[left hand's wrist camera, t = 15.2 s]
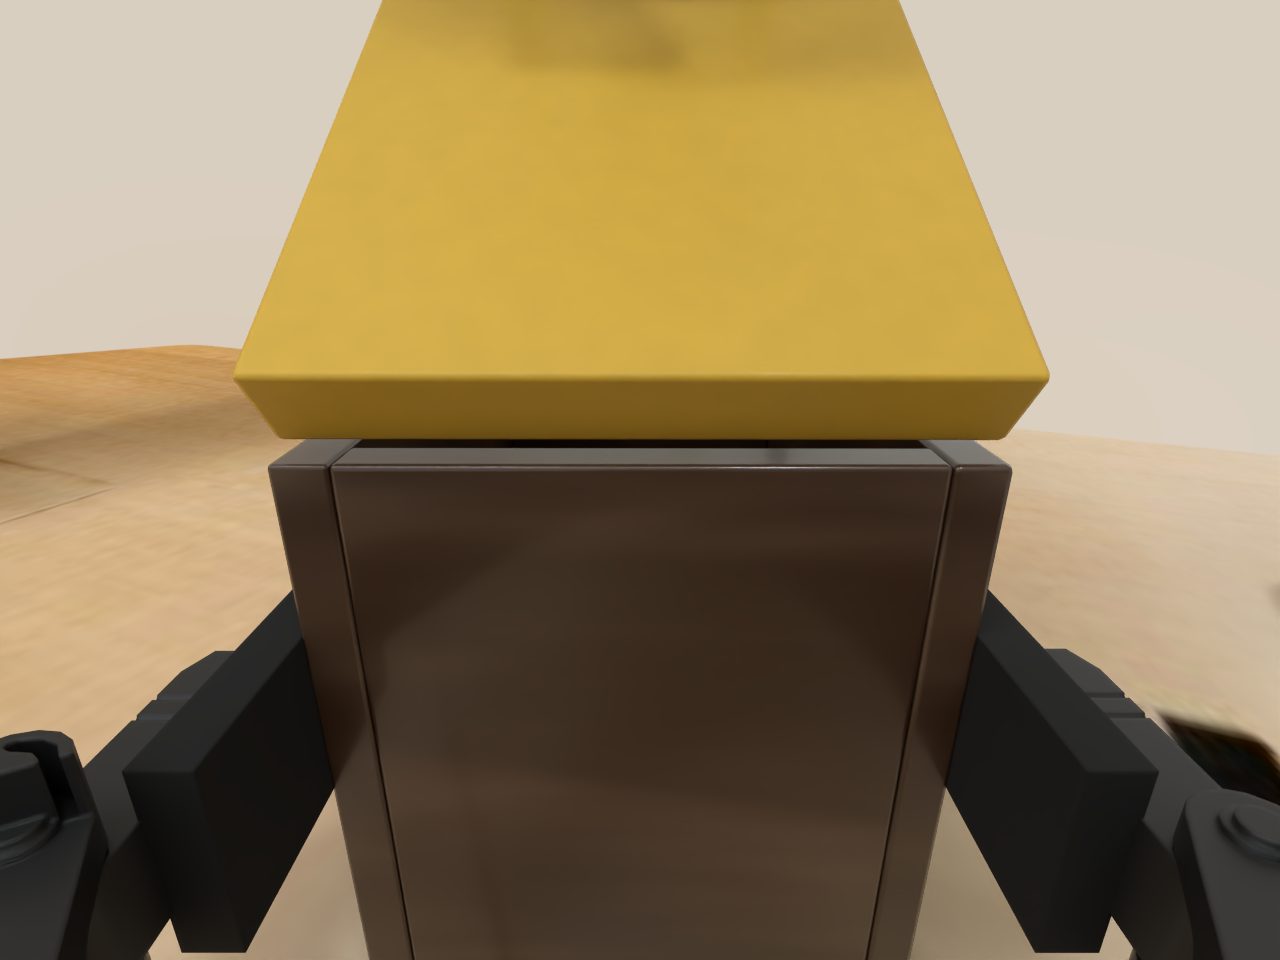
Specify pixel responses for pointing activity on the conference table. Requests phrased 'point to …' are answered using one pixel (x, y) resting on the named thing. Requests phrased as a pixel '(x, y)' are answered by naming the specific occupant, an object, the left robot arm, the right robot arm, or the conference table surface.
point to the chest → (639, 686)
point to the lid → (641, 235)
